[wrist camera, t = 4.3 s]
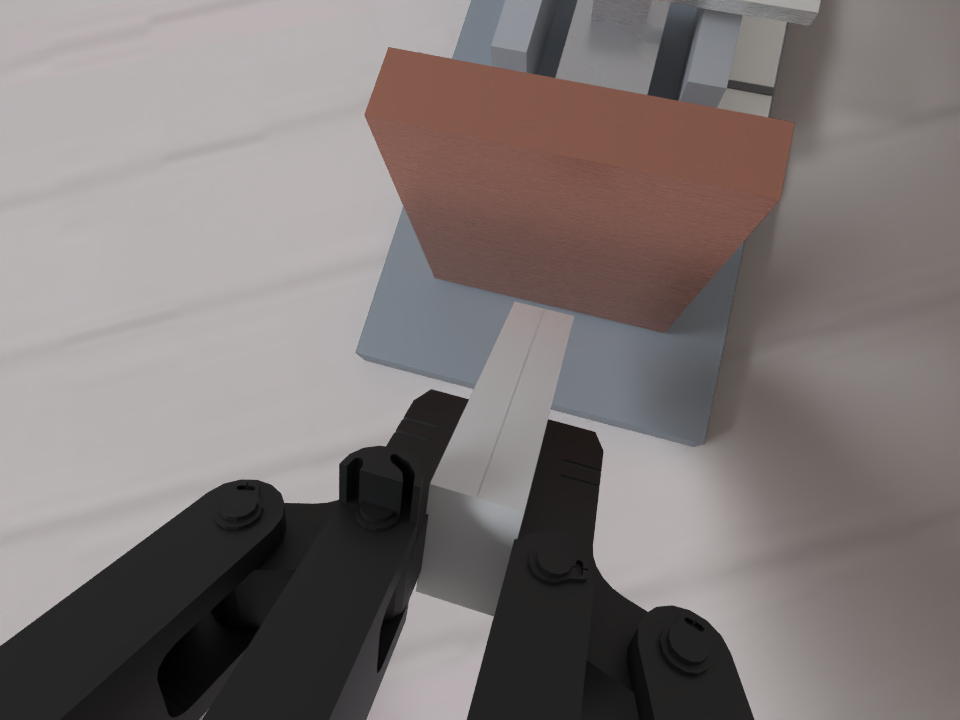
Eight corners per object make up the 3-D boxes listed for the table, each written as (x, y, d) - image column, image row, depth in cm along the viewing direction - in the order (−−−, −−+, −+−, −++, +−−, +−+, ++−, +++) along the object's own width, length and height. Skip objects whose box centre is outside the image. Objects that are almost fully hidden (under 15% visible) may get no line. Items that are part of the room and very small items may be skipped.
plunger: (716, 345, 19) (879, 219, 10) (434, 278, 20) (364, 115, 11) (776, 47, 21) (952, -266, 12) (519, 4, 22) (515, -308, 14)
